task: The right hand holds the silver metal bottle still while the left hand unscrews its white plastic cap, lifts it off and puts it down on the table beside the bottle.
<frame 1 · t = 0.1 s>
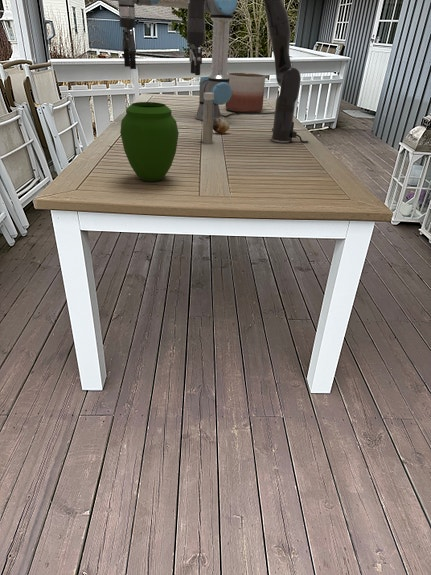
left hand: (130, 67, 208), 28 cm above the table, tool pointing down, fingers open, 13 cm apart
right hand: (195, 74, 180), 29 cm above the table, tool pointing down, fingers open, 8 cm apart
seashell: (220, 133, 216), on the table
planter: (243, 110, 282), on the table
bottle: (207, 142, 198), on the table
vase: (151, 178, 146), on the table
cap: (208, 93, 186), point 21 cm above the table, screwed on, not yet turned
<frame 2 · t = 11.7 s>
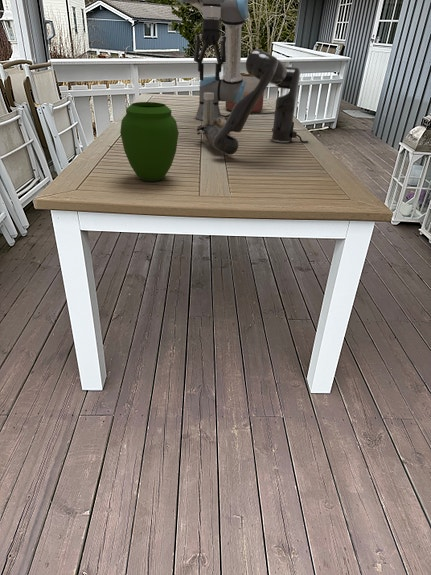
left hand: (209, 80, 183), 27 cm above the table, tool pointing down, fingers open, 7 cm apart
right hand: (206, 127, 196), 6 cm above the table, tool horizontal, fingers closed on bottle, 5 cm apart
bottle: (207, 142, 198), on the table, touching right hand
everything else where it was.
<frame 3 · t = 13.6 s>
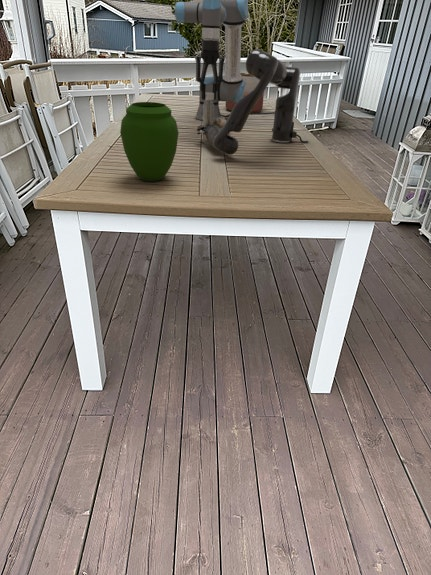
left hand: (208, 99, 188), 19 cm above the table, tool pointing down, fingers closed on cap, 5 cm apart
right hand: (206, 127, 196), 6 cm above the table, tool horizontal, fingers closed on bottle, 5 cm apart
bottle: (207, 142, 198), on the table, touching right hand
cap: (208, 93, 186), point 21 cm above the table, screwed on, not yet turned, touching left hand
everything else where it was.
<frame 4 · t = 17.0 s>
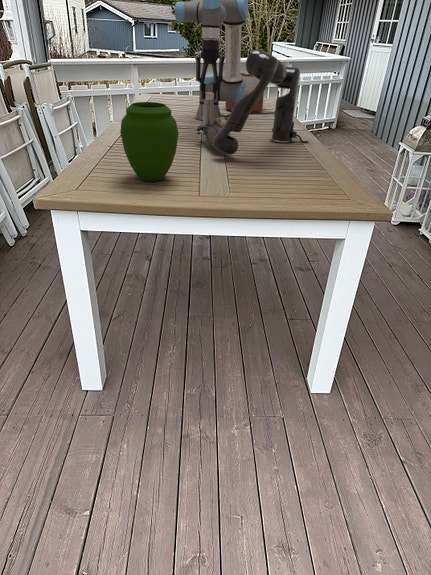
left hand: (208, 98, 187), 19 cm above the table, tool pointing down, fingers closed on cap, 5 cm apart
right hand: (206, 127, 196), 6 cm above the table, tool horizontal, fingers closed on bottle, 5 cm apart
bottle: (207, 142, 198), on the table, touching right hand
cap: (208, 93, 186), point 22 cm above the table, turned 112° so far, risen 0.1 cm, still on its thread, touching left hand
everything else where it was.
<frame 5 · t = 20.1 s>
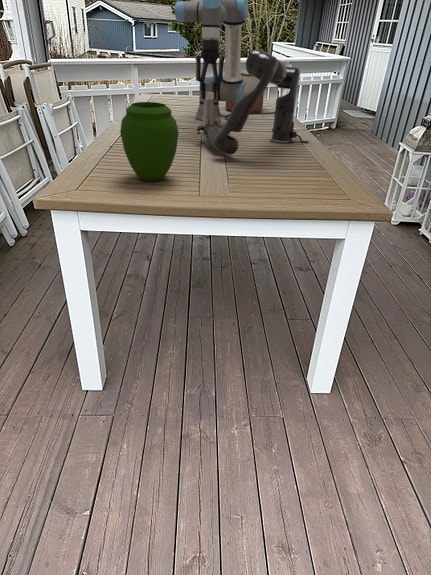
left hand: (208, 98, 187), 19 cm above the table, tool pointing down, fingers closed on cap, 5 cm apart
right hand: (206, 127, 196), 6 cm above the table, tool horizontal, fingers closed on bottle, 5 cm apart
bottle: (207, 142, 198), on the table, touching right hand
cap: (208, 93, 186), point 22 cm above the table, turned 223° so far, risen 0.3 cm, still on its thread, touching left hand
everything else where it was.
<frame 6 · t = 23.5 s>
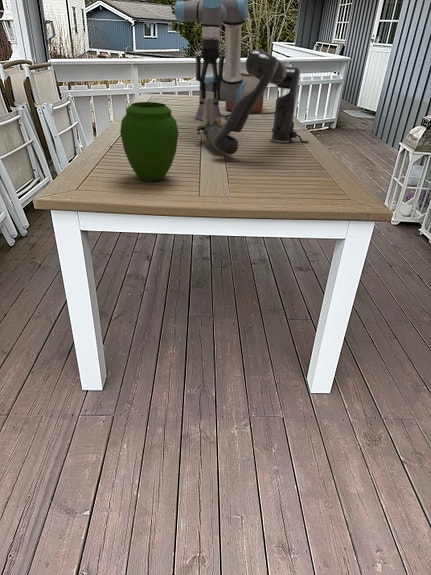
left hand: (208, 98, 187), 20 cm above the table, tool pointing down, fingers closed on cap, 5 cm apart
right hand: (206, 127, 196), 6 cm above the table, tool horizontal, fingers closed on bottle, 5 cm apart
bottle: (207, 142, 198), on the table, touching right hand
cap: (208, 92, 186), point 22 cm above the table, turned 335° so far, risen 0.4 cm, still on its thread, touching left hand
everything else where it was.
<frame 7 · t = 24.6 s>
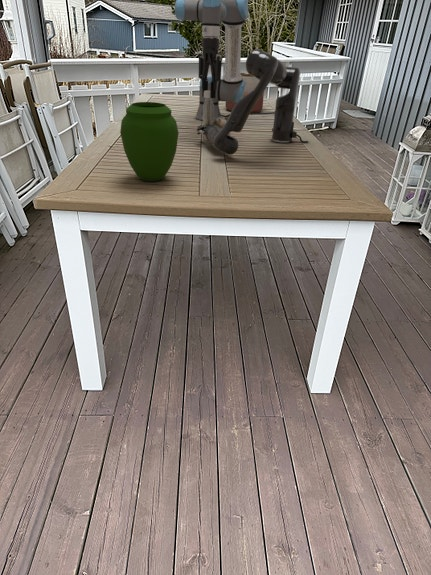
left hand: (208, 97, 187), 20 cm above the table, tool pointing down, fingers closed on cap, 5 cm apart
right hand: (206, 127, 196), 6 cm above the table, tool horizontal, fingers closed on bottle, 5 cm apart
bottle: (207, 142, 198), on the table, touching right hand
cap: (209, 91, 186), point 22 cm above the table, off its thread, touching left hand
everything else where it was.
when the left hand's fingers open (2 cm above the table, at t = 30.0 s): cap drops 2 cm, point 2 cm above the table.
when the right hand's fingers open (7 cm above the table, at t = 31.3 s): bottle stays where it is, on the table.
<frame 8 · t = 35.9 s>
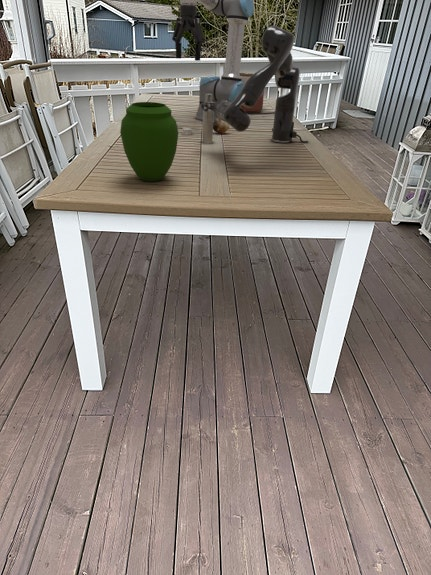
left hand: (187, 59, 194), 34 cm above the table, tool pointing down, fingers open, 13 cm apart
right hand: (214, 104, 180), 19 cm above the table, tool horizontal, fingers open, 8 cm apart
bottle: (207, 142, 198), on the table
cap: (187, 129, 211), point 2 cm above the table, off its thread
everything else where it was.
at the end: cap came off its thread; cap point 2.2 cm above the table; the left hand is holding nothing; the right hand is holding nothing; bottle tilted 0°; bottle moved 0.0 cm from its start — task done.
